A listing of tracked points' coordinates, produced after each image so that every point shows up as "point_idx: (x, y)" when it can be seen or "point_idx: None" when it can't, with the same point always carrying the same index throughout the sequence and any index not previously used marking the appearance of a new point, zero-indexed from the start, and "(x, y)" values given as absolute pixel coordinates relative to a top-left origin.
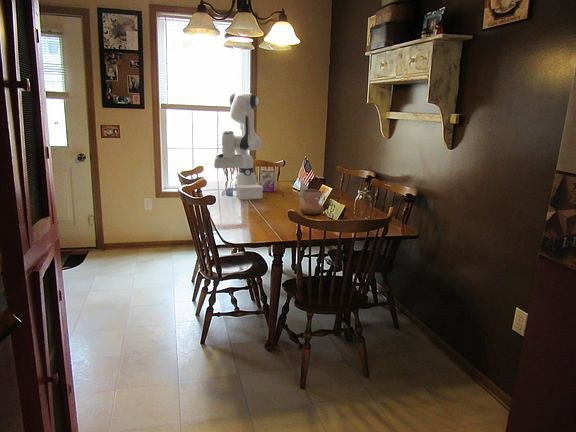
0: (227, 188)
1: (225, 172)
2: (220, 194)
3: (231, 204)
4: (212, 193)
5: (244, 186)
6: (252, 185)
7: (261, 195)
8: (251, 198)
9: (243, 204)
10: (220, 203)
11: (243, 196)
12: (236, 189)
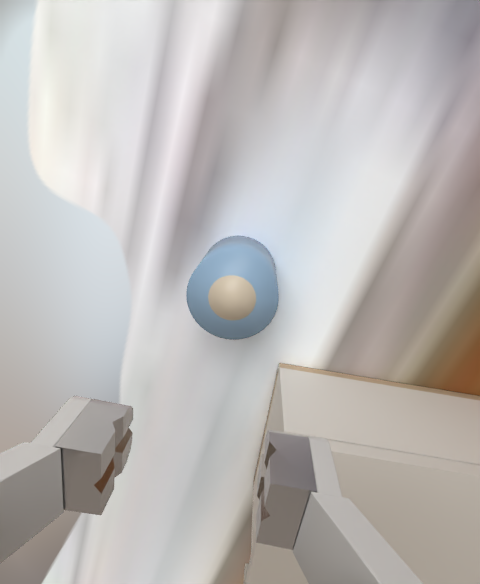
0: (204, 312)
1: (69, 495)
2: (157, 207)
3: (159, 551)
4: (79, 111)
5: None
6: (472, 520)
7: None
8: None
9: (231, 576)
10: None
11: None
12: (281, 413)
